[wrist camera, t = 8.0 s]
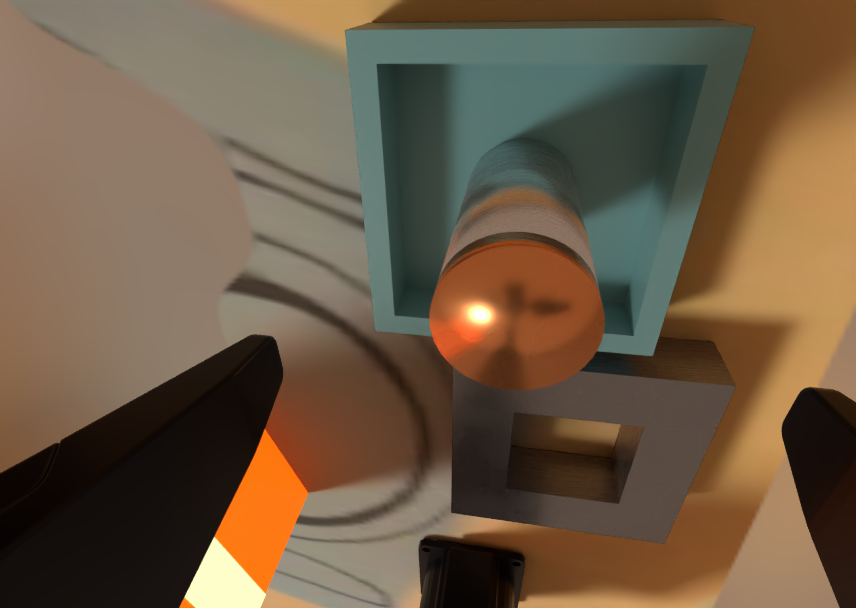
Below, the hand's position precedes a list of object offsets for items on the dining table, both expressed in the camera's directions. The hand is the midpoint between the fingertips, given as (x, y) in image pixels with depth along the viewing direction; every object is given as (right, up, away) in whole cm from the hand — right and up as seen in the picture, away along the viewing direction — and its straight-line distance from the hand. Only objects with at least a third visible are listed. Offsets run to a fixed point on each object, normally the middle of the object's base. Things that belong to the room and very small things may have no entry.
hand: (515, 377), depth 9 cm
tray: (+2, +5, +8) cm, 10 cm away
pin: (+2, +5, +8) cm, 10 cm away
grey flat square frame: (+5, -4, +14) cm, 15 cm away
